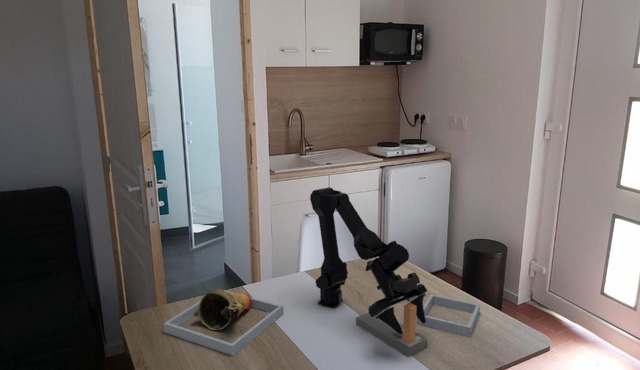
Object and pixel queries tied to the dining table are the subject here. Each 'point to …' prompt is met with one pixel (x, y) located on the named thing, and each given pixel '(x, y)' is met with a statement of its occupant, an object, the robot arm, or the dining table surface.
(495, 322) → the dining table surface
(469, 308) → the tray
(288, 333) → the dining table surface
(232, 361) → the dining table surface
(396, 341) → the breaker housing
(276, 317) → the tray
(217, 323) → the pot
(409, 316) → the handle
